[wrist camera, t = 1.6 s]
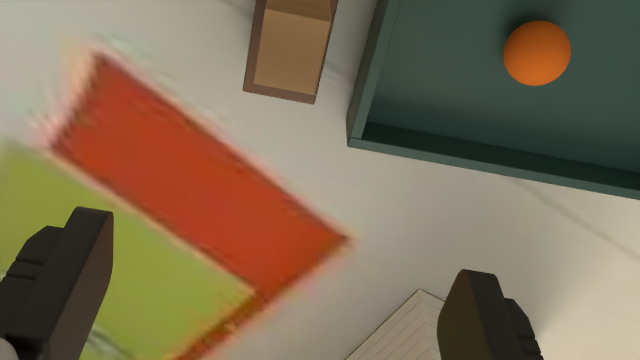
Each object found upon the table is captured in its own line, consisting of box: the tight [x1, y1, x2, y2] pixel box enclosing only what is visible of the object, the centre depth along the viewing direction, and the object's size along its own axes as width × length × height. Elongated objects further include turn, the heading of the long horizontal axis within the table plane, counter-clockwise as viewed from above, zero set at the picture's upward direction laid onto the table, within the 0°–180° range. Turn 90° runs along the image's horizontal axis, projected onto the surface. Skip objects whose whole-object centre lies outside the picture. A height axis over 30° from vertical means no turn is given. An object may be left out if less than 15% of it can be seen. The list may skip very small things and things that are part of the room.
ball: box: [503, 21, 571, 86], centre depth 28 cm, size 3×3×3 cm
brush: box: [243, 0, 338, 104], centre depth 25 cm, size 9×4×8 cm, turn 168°
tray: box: [346, 0, 640, 200], centre depth 29 cm, size 13×18×3 cm
